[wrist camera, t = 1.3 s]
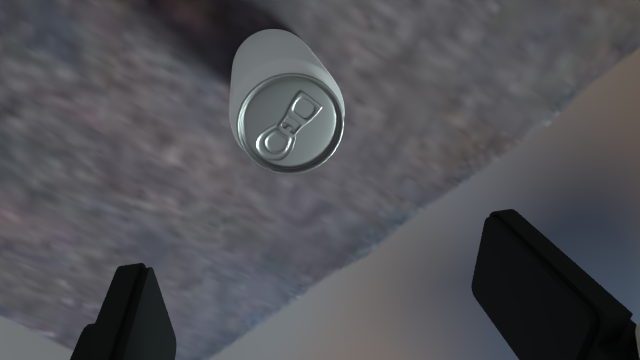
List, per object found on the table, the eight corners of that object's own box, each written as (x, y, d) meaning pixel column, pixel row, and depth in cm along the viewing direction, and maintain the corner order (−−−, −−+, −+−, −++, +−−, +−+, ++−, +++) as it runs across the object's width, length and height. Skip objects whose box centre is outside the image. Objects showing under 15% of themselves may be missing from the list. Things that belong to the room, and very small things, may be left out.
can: (215, 79, 30) (202, 141, 20) (265, 8, 28) (279, 35, 18) (282, 125, 33) (301, 201, 22) (331, 63, 31) (376, 114, 21)
